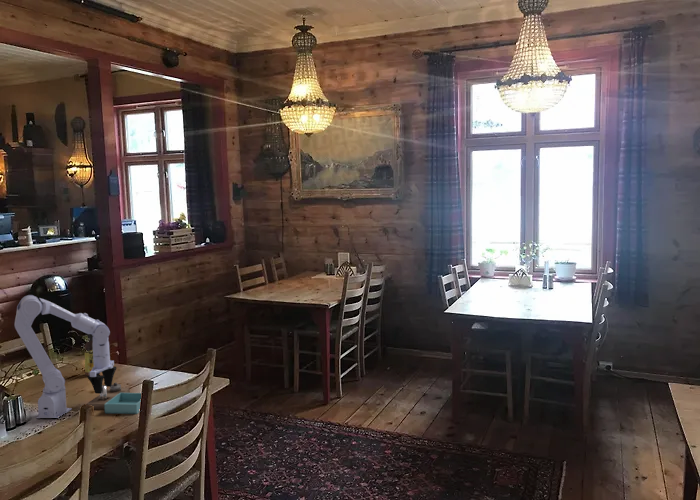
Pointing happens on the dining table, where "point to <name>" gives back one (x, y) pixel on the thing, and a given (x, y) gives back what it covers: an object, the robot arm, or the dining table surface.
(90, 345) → the sauce bottle
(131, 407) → the tray
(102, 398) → the lock pin
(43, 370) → the robot arm
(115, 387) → the tensioner bracket
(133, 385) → the dining table surface
